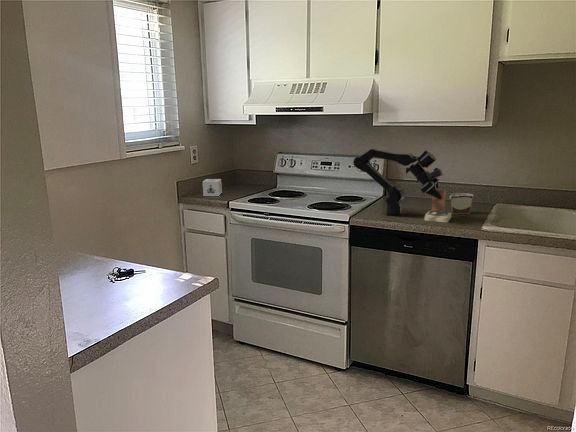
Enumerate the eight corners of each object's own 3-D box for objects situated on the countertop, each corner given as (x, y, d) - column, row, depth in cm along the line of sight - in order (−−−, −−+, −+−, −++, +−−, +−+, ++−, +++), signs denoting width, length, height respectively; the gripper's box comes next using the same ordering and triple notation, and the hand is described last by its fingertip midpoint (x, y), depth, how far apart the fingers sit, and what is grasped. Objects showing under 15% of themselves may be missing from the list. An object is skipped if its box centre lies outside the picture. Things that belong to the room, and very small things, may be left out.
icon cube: (207, 194, 311) (206, 179, 309) (222, 194, 310) (221, 179, 308) (203, 197, 301) (202, 181, 299) (218, 197, 301) (218, 181, 298)
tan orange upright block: (431, 211, 233) (432, 189, 231) (433, 209, 238) (434, 187, 235) (443, 212, 231) (444, 190, 228) (444, 210, 235) (446, 188, 233)
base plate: (424, 220, 233) (424, 213, 232) (428, 215, 242) (428, 209, 242) (447, 222, 228) (448, 215, 227) (451, 217, 238) (451, 211, 237)
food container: (467, 211, 252) (469, 192, 249) (472, 213, 246) (474, 194, 243) (445, 211, 251) (446, 193, 249) (449, 214, 245) (450, 195, 243)
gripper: (429, 165, 222) (452, 190, 220) (436, 160, 239) (457, 183, 236) (411, 180, 228) (433, 205, 225) (419, 175, 244) (440, 198, 242)
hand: (442, 197), depth 232 cm, fingers open, 6 cm apart
